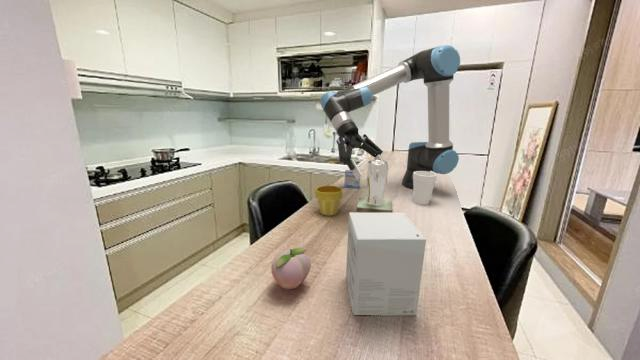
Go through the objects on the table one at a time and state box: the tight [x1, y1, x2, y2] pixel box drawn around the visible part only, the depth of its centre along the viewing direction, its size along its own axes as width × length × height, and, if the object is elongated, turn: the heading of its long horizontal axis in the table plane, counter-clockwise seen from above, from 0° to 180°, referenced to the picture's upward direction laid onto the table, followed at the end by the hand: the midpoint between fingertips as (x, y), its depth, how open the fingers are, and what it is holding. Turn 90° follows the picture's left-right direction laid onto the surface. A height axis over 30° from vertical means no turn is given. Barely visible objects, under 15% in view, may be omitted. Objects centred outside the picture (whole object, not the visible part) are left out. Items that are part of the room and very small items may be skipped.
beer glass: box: [366, 159, 389, 206], centre depth 94 cm, size 7×7×15 cm
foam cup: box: [412, 171, 438, 206], centre depth 116 cm, size 10×9×13 cm
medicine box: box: [343, 169, 361, 189], centre depth 138 cm, size 8×4×9 cm, turn 80°
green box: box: [355, 197, 394, 213], centre depth 97 cm, size 12×10×7 cm
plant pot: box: [314, 184, 343, 216], centre depth 105 cm, size 10×10×10 cm
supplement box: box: [345, 211, 427, 317], centre depth 58 cm, size 13×13×18 cm
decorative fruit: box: [270, 247, 312, 290], centre depth 62 cm, size 9×8×10 cm
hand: (373, 174), depth 94 cm, fingers open, 13 cm apart
